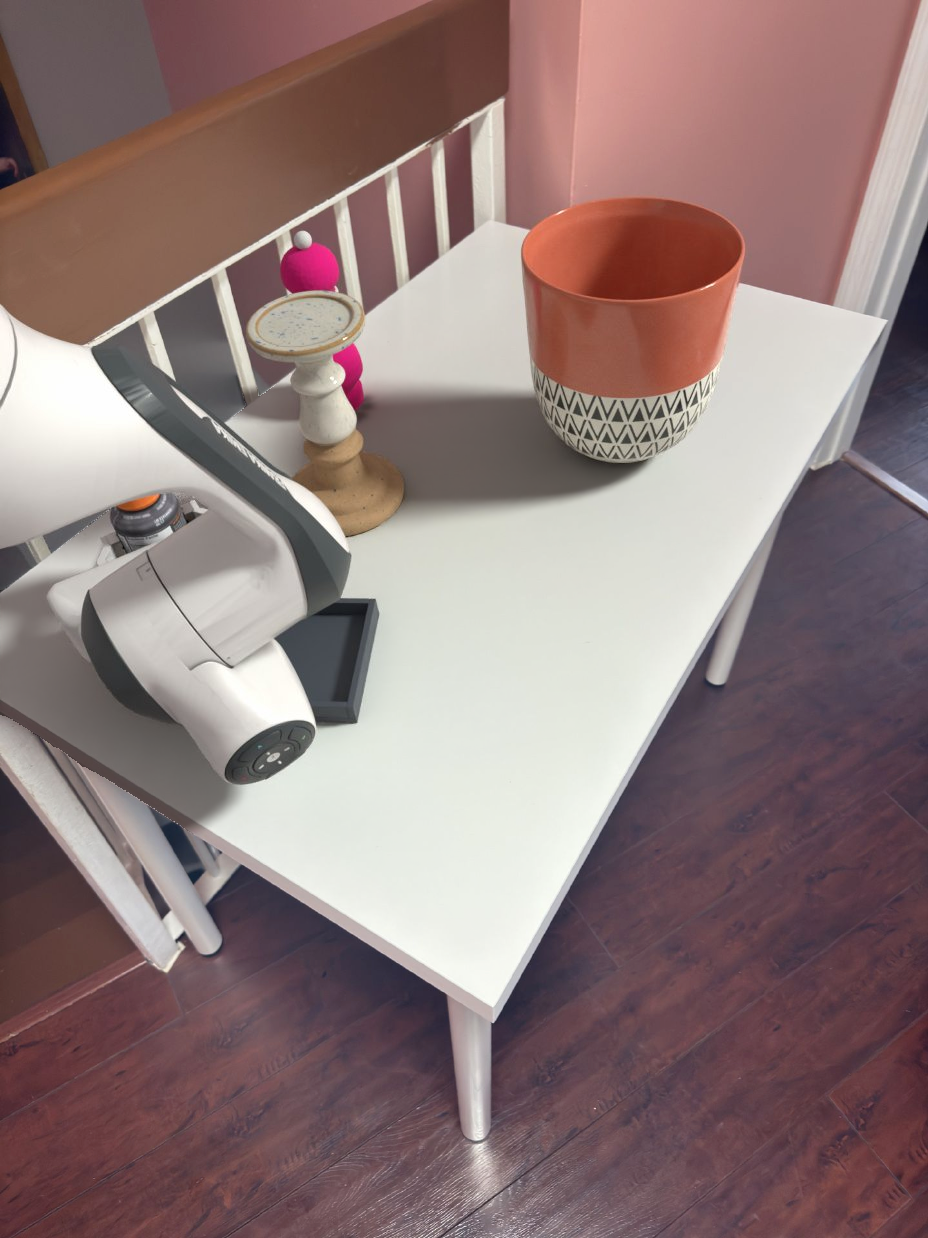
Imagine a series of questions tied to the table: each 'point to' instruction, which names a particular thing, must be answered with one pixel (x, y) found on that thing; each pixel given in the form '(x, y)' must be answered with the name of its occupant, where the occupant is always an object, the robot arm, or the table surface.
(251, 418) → the table surface
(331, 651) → the slate tray
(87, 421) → the robot arm
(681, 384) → the planter
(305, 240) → the pepper mill
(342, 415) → the candle holder
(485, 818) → the table surface
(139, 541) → the pill bottle
